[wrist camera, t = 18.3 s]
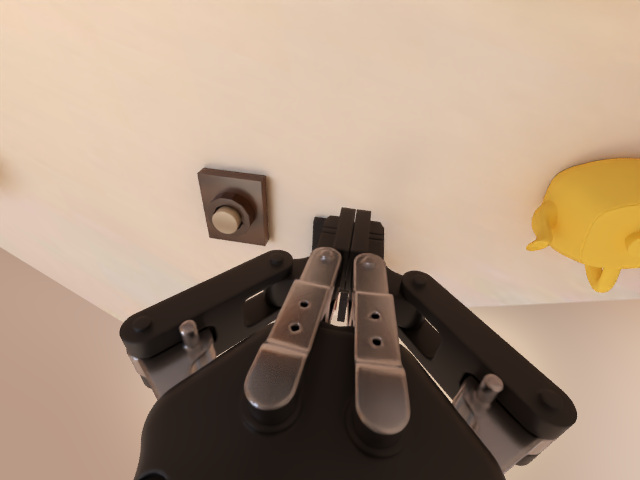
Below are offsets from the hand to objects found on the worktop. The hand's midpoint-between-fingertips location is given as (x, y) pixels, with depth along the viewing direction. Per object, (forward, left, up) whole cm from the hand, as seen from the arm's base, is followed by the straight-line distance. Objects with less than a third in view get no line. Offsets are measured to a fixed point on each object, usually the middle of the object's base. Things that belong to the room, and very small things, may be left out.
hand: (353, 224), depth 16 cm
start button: (+6, -26, -25) cm, 37 cm away
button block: (+6, -26, -29) cm, 39 cm away
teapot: (+25, +21, -29) cm, 44 cm away
